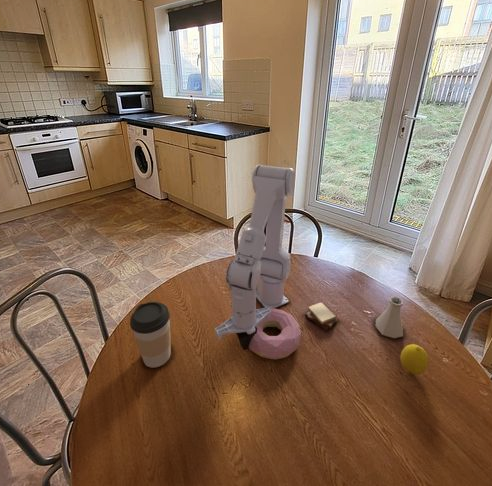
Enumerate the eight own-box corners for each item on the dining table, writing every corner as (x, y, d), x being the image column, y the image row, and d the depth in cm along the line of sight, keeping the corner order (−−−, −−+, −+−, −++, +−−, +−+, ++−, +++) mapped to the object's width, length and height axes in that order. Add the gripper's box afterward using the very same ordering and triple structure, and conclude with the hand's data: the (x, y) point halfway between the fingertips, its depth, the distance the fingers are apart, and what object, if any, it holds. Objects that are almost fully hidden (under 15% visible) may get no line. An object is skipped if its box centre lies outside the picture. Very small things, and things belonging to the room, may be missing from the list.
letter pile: (302, 316, 86) (303, 310, 85) (317, 306, 90) (318, 300, 89) (325, 334, 80) (326, 327, 79) (340, 321, 84) (341, 315, 83)
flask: (397, 319, 85) (405, 292, 80) (407, 339, 78) (416, 311, 74) (371, 317, 85) (377, 290, 81) (379, 337, 79) (387, 309, 74)
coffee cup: (182, 347, 76) (176, 303, 70) (159, 377, 69) (150, 330, 63) (155, 336, 80) (147, 293, 74) (130, 363, 72) (119, 317, 66)
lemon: (420, 364, 71) (429, 341, 68) (425, 385, 67) (434, 360, 63) (395, 358, 73) (403, 334, 70) (398, 377, 68) (406, 353, 65)
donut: (232, 345, 77) (231, 331, 75) (261, 310, 88) (261, 297, 86) (285, 375, 69) (286, 360, 67) (309, 332, 81) (311, 318, 79)
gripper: (222, 329, 62) (225, 372, 68) (278, 305, 68) (276, 346, 74) (210, 308, 68) (213, 349, 74) (262, 288, 74) (261, 327, 80)
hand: (244, 346), depth 74 cm, fingers closed
